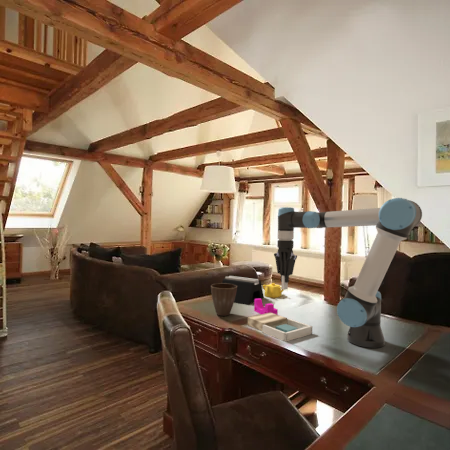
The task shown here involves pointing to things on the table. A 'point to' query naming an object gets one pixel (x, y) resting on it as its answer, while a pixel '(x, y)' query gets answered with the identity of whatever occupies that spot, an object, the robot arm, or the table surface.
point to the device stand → (245, 289)
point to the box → (287, 336)
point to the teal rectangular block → (285, 328)
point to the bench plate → (266, 320)
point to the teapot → (273, 290)
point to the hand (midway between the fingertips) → (284, 289)
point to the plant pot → (223, 297)
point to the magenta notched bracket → (263, 310)
